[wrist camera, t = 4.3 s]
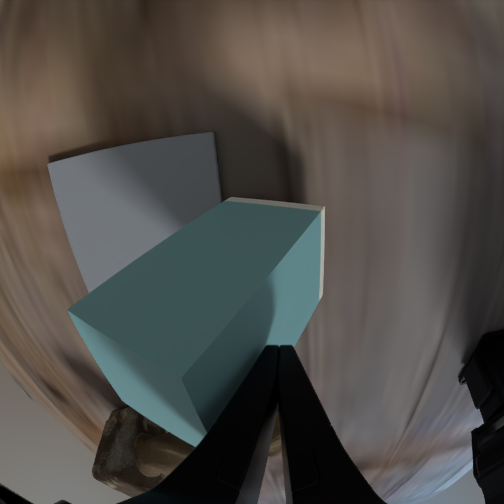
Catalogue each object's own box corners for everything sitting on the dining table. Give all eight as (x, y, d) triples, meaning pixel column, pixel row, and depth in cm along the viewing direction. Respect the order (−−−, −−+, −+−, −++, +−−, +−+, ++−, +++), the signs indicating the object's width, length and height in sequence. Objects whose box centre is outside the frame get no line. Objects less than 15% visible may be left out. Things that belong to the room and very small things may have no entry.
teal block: (324, 206, 13) (181, 378, 6) (322, 295, 16) (221, 460, 8) (230, 196, 16) (67, 309, 8) (241, 276, 18) (122, 400, 11)
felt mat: (213, 131, 14) (212, 132, 14) (238, 320, 20) (237, 324, 19) (51, 162, 15) (47, 164, 15) (101, 312, 21) (99, 315, 21)
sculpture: (253, 362, 37) (325, 437, 24) (125, 451, 31) (152, 541, 18) (223, 324, 34) (298, 404, 21) (85, 424, 28) (98, 524, 15)
